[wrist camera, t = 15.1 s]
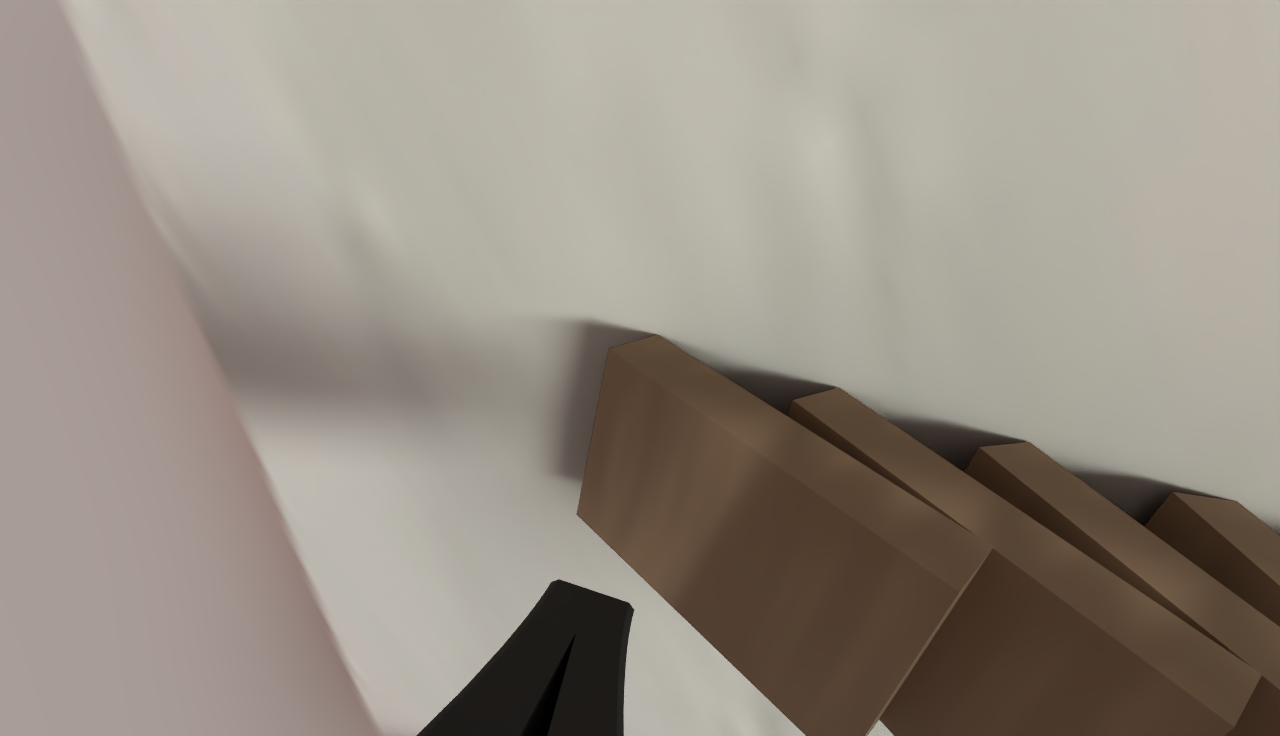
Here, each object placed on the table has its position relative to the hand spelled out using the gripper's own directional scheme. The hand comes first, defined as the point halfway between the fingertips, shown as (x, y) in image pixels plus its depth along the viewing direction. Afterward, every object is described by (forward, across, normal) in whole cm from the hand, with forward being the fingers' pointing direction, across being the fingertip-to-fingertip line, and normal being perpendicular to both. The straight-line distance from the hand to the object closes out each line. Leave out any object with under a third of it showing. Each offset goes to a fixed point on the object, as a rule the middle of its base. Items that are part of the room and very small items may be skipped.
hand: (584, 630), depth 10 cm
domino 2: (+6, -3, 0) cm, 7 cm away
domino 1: (+6, +1, 0) cm, 6 cm away
